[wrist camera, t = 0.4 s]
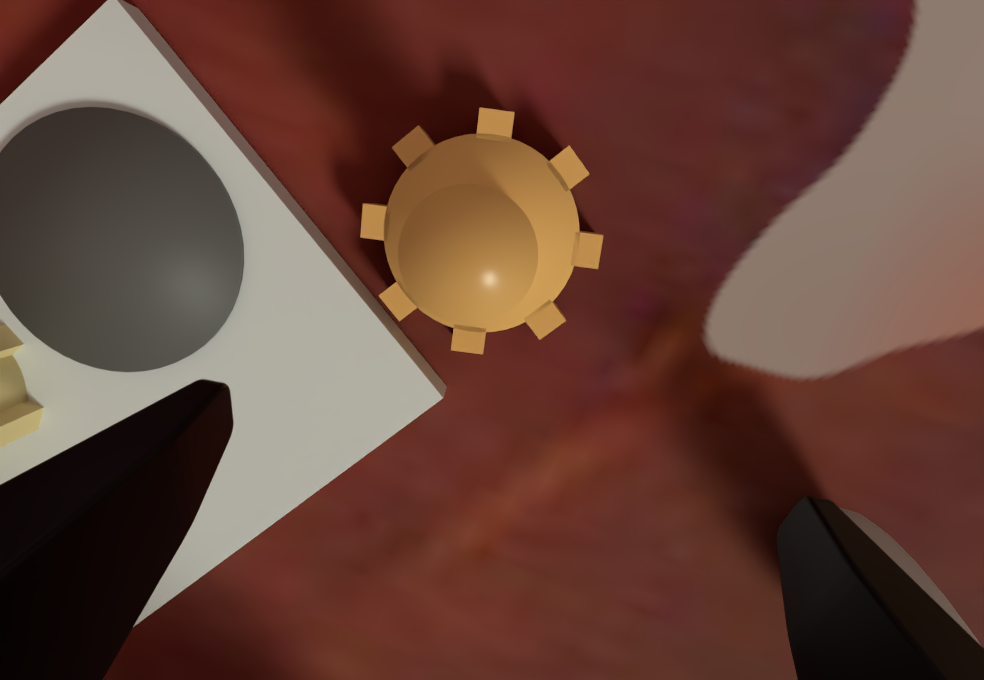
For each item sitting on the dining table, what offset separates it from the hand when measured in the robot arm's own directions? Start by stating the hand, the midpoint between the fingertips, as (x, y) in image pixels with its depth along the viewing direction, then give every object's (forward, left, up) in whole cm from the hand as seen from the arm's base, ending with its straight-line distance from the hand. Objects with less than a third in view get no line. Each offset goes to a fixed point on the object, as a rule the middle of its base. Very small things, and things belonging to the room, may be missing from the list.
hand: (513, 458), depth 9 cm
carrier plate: (-13, +8, -15) cm, 21 cm away
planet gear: (+1, +3, -15) cm, 15 cm away
